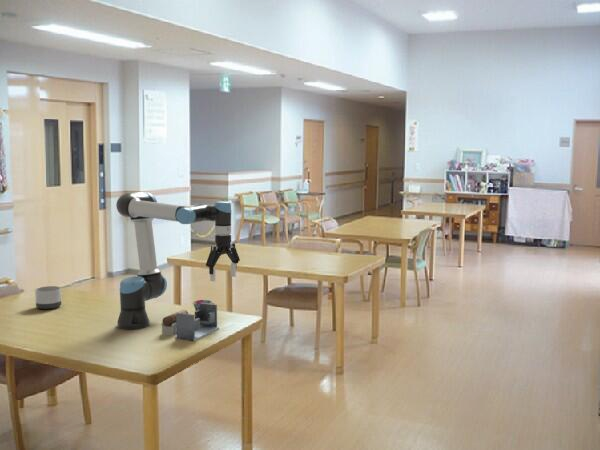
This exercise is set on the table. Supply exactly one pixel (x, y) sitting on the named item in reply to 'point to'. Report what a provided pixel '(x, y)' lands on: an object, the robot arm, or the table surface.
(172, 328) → the rest blocks
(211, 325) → the brackets
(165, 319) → the brown cylinder
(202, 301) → the mug
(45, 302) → the planter
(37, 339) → the table surface
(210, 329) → the wall board
